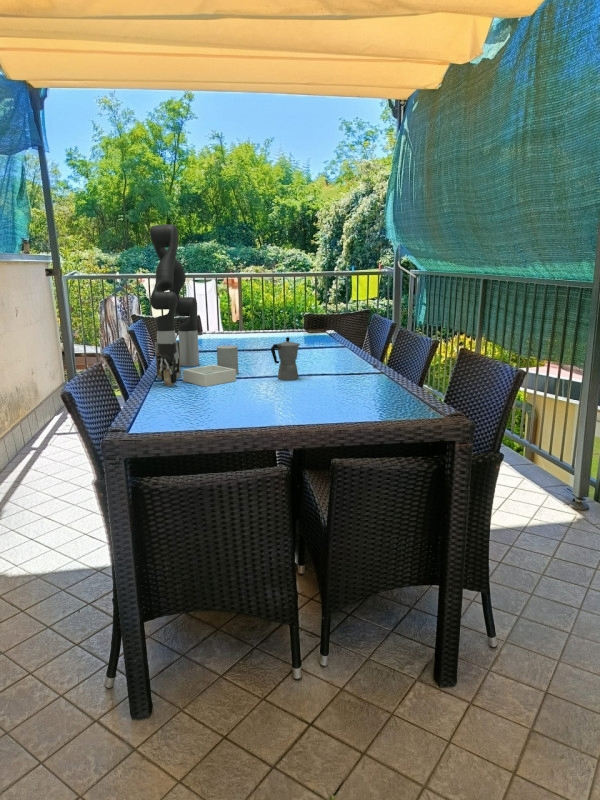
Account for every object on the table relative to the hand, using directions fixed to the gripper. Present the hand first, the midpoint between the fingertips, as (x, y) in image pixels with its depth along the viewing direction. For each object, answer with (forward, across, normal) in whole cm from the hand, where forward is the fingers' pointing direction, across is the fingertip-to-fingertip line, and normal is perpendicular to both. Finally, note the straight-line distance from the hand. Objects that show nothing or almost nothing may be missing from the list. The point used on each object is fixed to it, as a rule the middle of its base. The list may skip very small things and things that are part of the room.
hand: (169, 381), depth 228 cm
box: (+1, +6, +16) cm, 17 cm away
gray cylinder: (+2, -2, +32) cm, 32 cm away
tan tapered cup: (+1, 0, 0) cm, 1 cm away
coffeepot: (+2, +26, +42) cm, 49 cm away
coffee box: (+2, -13, +8) cm, 15 cm away
